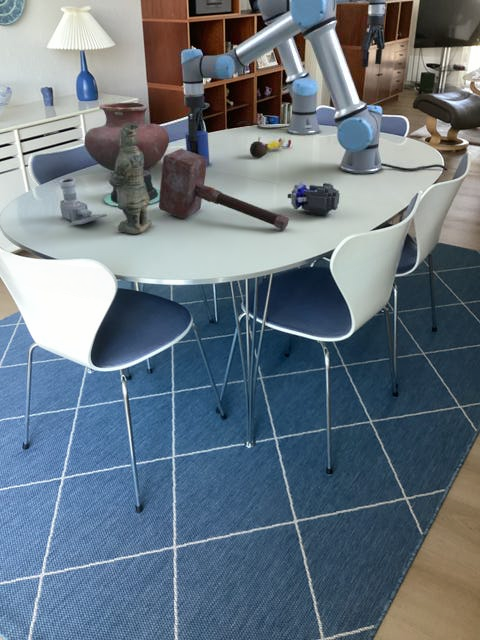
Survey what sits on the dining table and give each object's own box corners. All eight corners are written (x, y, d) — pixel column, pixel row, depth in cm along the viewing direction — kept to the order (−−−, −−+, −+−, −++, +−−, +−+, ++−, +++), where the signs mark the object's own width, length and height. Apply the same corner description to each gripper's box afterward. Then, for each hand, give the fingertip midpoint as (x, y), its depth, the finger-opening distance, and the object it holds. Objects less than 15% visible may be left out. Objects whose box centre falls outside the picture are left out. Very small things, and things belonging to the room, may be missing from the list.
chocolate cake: (91, 202, 180) (113, 186, 197) (142, 231, 182) (160, 212, 199) (107, 162, 172) (129, 148, 190) (160, 192, 174) (177, 176, 192)
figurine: (298, 136, 240) (268, 140, 221) (297, 154, 243) (267, 160, 224) (272, 133, 246) (241, 137, 227) (271, 151, 249) (240, 156, 230)
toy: (295, 178, 172) (342, 184, 166) (295, 205, 177) (340, 211, 171) (285, 186, 166) (333, 192, 160) (284, 213, 170) (331, 220, 164)
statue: (131, 220, 168) (117, 116, 152) (158, 224, 164) (147, 118, 149) (109, 233, 159) (93, 124, 144) (138, 237, 156) (124, 126, 140)
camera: (73, 174, 169) (102, 184, 161) (79, 211, 176) (108, 223, 167) (48, 181, 164) (77, 191, 155) (55, 219, 170) (83, 231, 161)
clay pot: (179, 163, 223) (174, 97, 211) (157, 185, 198) (150, 112, 185) (108, 161, 228) (99, 97, 216) (77, 183, 203) (65, 111, 190)
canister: (186, 167, 218) (183, 135, 212) (189, 161, 225) (186, 130, 219) (208, 167, 217) (206, 135, 211) (210, 161, 225) (208, 130, 219)
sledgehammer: (299, 190, 156) (179, 147, 167) (285, 200, 148) (161, 154, 160) (286, 244, 166) (174, 200, 177) (272, 256, 158) (156, 209, 170)
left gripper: (371, 16, 246) (366, 68, 257) (395, 14, 263) (389, 63, 274) (356, 16, 250) (352, 67, 261) (380, 14, 267) (376, 62, 278)
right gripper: (191, 90, 218) (195, 149, 229) (176, 99, 200) (181, 162, 211) (209, 90, 217) (212, 149, 228) (197, 99, 199) (201, 163, 210)
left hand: (371, 65), depth 268 cm, fingers open, 13 cm apart
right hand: (197, 155), depth 220 cm, fingers closed on canister, 9 cm apart
